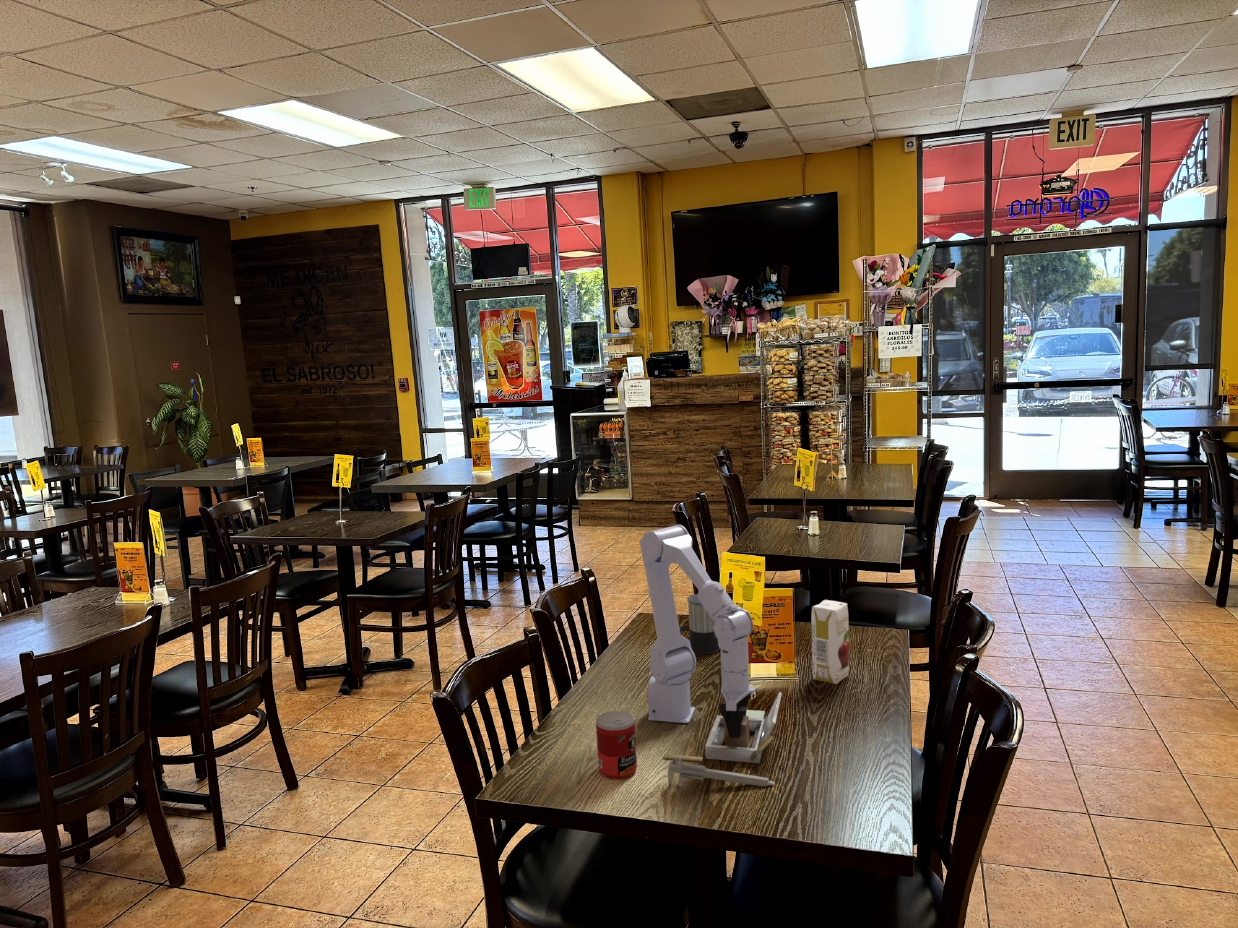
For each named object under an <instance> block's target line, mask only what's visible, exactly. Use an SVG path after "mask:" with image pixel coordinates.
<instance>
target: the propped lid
mask: <svg viewBox="0 0 1238 928" xmlns="http://www.w3.org/2000/svg"><path fill="white" fill-rule="evenodd" d="M782 694H783V693H782V692H781V691H779V692H778V694H777V696H776V698H775V700H774V702H773V705H772V706H771V708H770V710H769V713H768V715H766V716H764V719H765V720H764V724H763V728H762V732H761V736H760V740H759V744H758V748H757V750H756V752H755V753H754V754H753V755H752V756H751V757H750V759H751V760H752V761H753V760H754V759H755V758H756V757H757V756H758V755H759V753H760V752H761V751H762V750H765V748H766V747H767V746H768V745H769V744H771V741H773V740H774V738H775V737H774V736H772V735H771V733H772V731H773V729H774V728H775V727H774V726H775V725H776V722H777V717H778V713H779V709H780V703H781V698H782ZM762 752H763V751H762Z"/></svg>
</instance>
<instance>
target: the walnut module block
mask: <svg viewBox="0 0 1238 928" xmlns="http://www.w3.org/2000/svg"><path fill="white" fill-rule="evenodd" d="M724 725H725V736H724V746H732V747H744V748H749V743H750V731H749V716H743V720H742V728H741V734H740V738H739V739H738V738H730V737H729V734H728V731H727V727H726V723H724Z"/></svg>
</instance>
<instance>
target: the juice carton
mask: <svg viewBox="0 0 1238 928" xmlns="http://www.w3.org/2000/svg"><path fill="white" fill-rule="evenodd" d="M810 616H811V620H810V621H811V654H812V658H811V660H812V662H811V663H812V665H811V666H812V675H813V680H815V681H819V682H823V681H824V683H827V682H828V683H829V684H833V685H838V684H839V683H841V681H842V680H844V679H846V678H847V677H848V675H849V670H850V644H849V643H850V640H849V639H850V636H849V634H850V633H849V632H850V631H849V609H848V602H847V603H846V602H842V601H837V600H829V599H824V600H822V601H821V602H820V603H819V604H815V605H813V606H811V615H810ZM828 683H827V684H828Z"/></svg>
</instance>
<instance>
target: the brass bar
mask: <svg viewBox="0 0 1238 928" xmlns="http://www.w3.org/2000/svg"><path fill="white" fill-rule="evenodd" d="M674 756H675V757H676V761H678V759H679V758H680V757H681V761H687V762H688V761H689V762H690V761H691V762H703V761H704V760H703V759H704V757H703V756H695V755H694V756H692V755H681V754H669V753H664V754H663V759H664V760H665V759H666V760H674Z"/></svg>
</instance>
